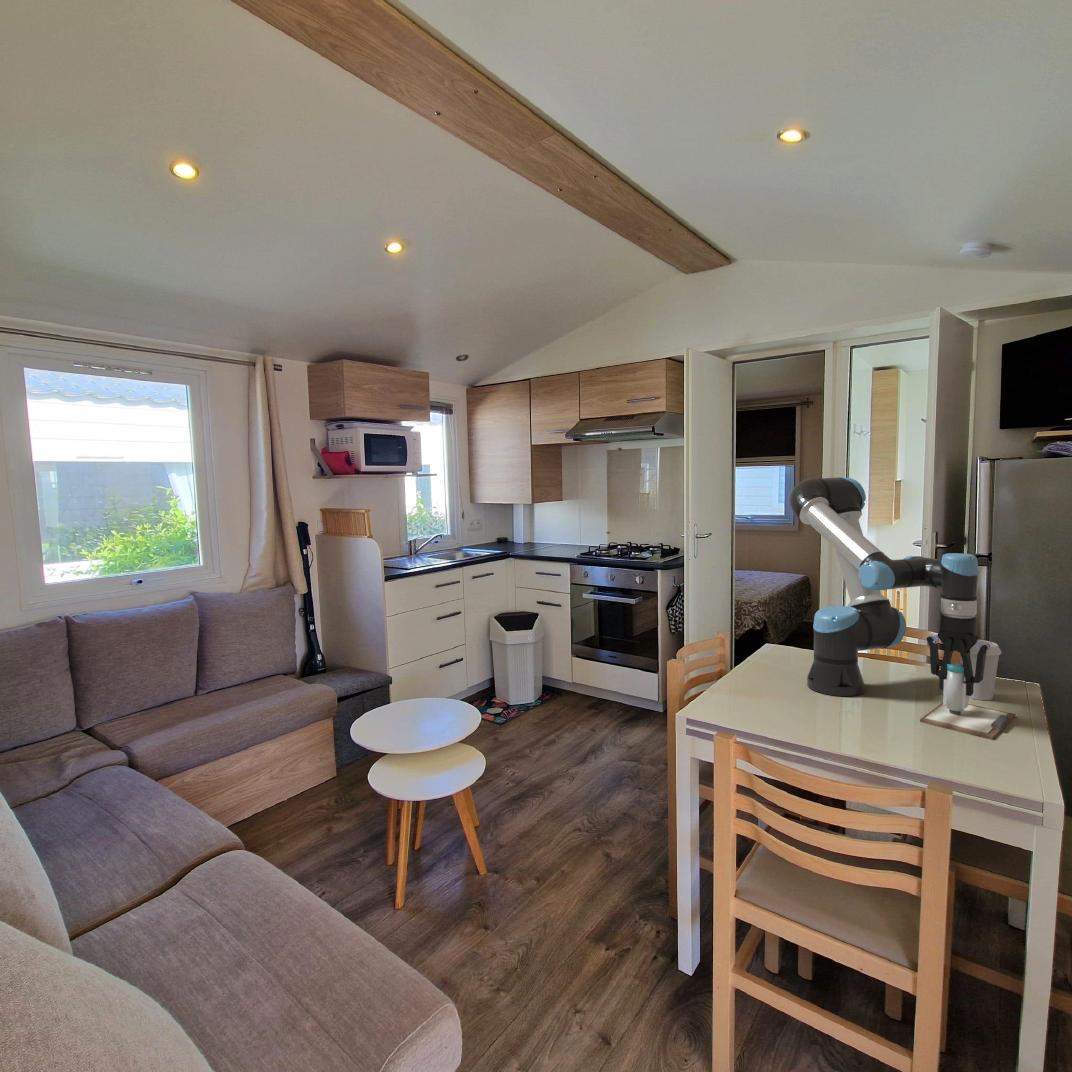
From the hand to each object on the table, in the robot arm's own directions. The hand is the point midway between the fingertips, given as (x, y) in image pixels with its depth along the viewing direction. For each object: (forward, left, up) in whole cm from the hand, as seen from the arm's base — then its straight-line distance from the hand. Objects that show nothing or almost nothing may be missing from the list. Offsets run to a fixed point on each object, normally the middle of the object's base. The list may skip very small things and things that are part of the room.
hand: (955, 704), depth 156 cm
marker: (0, -1, -2) cm, 2 cm away
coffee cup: (0, +19, -3) cm, 20 cm away
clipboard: (+3, -1, -3) cm, 4 cm away
